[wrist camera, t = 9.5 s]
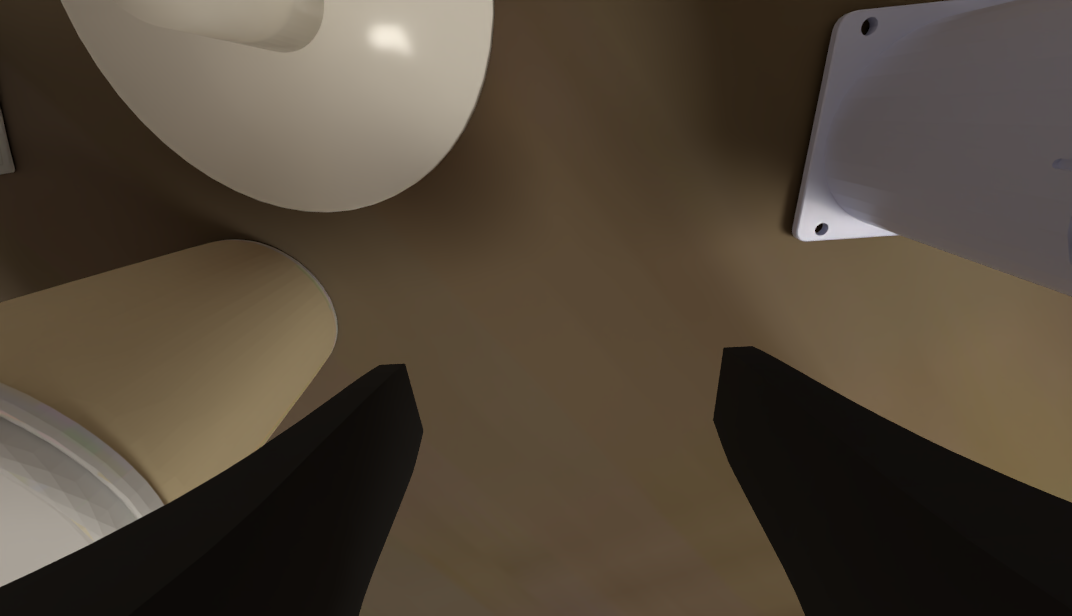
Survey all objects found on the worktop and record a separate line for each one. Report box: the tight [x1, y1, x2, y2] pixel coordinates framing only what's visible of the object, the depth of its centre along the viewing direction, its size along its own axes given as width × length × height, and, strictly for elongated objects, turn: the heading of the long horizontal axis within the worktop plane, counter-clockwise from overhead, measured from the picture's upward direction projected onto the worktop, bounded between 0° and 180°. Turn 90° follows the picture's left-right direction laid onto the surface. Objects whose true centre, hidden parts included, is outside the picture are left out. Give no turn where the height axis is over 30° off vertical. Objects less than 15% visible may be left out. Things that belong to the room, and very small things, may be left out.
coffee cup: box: [0, 239, 338, 587], centre depth 15 cm, size 9×9×12 cm
